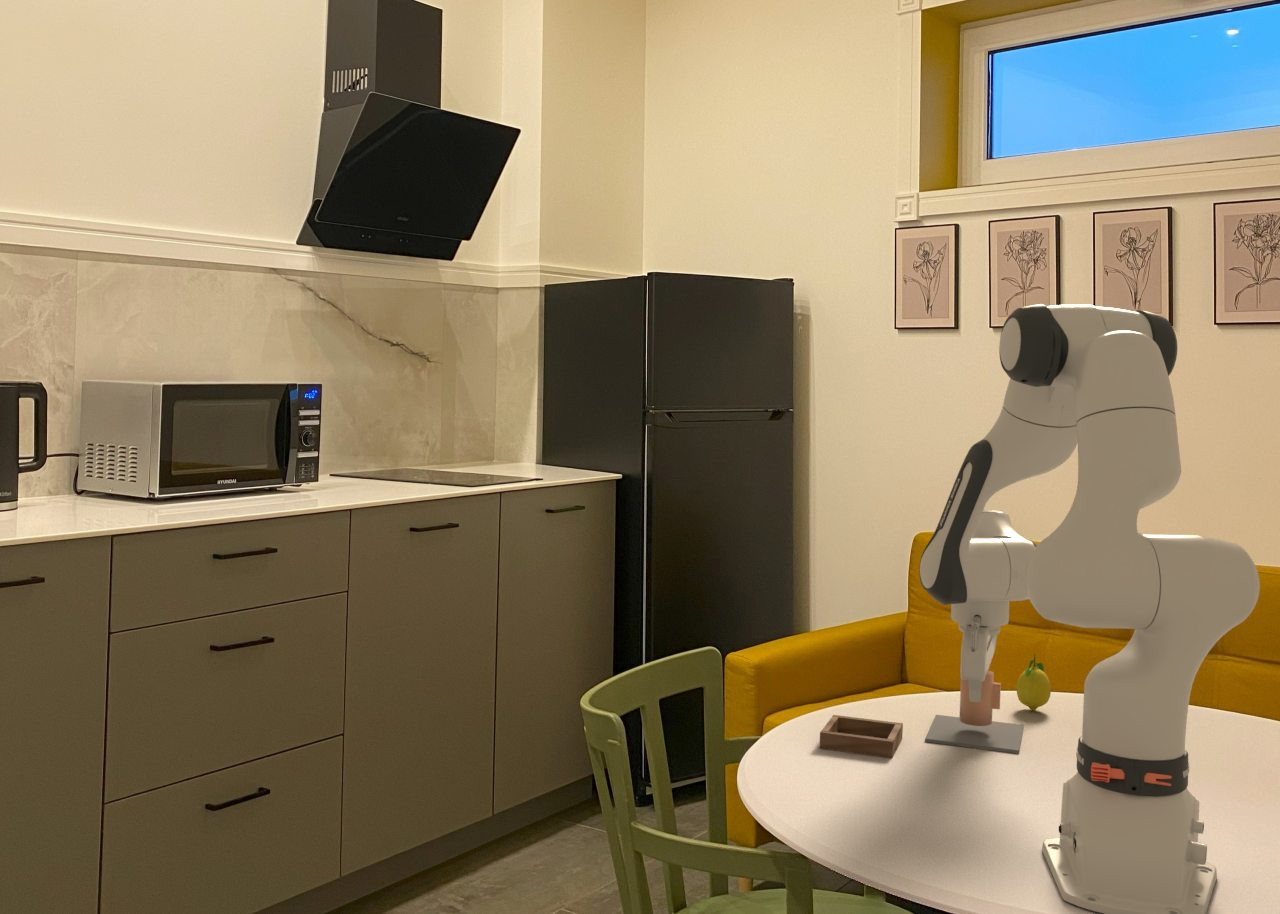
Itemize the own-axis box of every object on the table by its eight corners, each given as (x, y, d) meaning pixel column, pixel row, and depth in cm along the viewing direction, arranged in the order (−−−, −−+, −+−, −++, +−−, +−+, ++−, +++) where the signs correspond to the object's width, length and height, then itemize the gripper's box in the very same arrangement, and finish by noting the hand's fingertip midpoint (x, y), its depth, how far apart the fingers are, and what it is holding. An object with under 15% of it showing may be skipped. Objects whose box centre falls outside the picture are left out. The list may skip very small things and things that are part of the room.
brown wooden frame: (892, 758, 170) (892, 741, 170) (819, 748, 174) (820, 732, 174) (902, 738, 180) (902, 723, 180) (833, 730, 184) (833, 714, 183)
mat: (1018, 753, 173) (1019, 750, 173) (924, 741, 178) (925, 738, 178) (1023, 727, 186) (1023, 724, 186) (935, 717, 191) (935, 714, 191)
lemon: (1025, 717, 193) (1027, 658, 192) (1006, 707, 198) (1008, 650, 198) (1060, 714, 194) (1062, 656, 194) (1040, 705, 200) (1042, 648, 199)
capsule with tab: (998, 728, 179) (999, 678, 178) (957, 723, 181) (959, 674, 180) (1000, 719, 183) (1002, 670, 183) (961, 715, 185) (962, 666, 185)
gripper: (995, 624, 170) (992, 715, 171) (1004, 600, 189) (1001, 682, 190) (952, 621, 172) (949, 710, 173) (965, 597, 192) (962, 678, 192)
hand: (976, 695), depth 182 cm, fingers closed on capsule with tab, 5 cm apart
